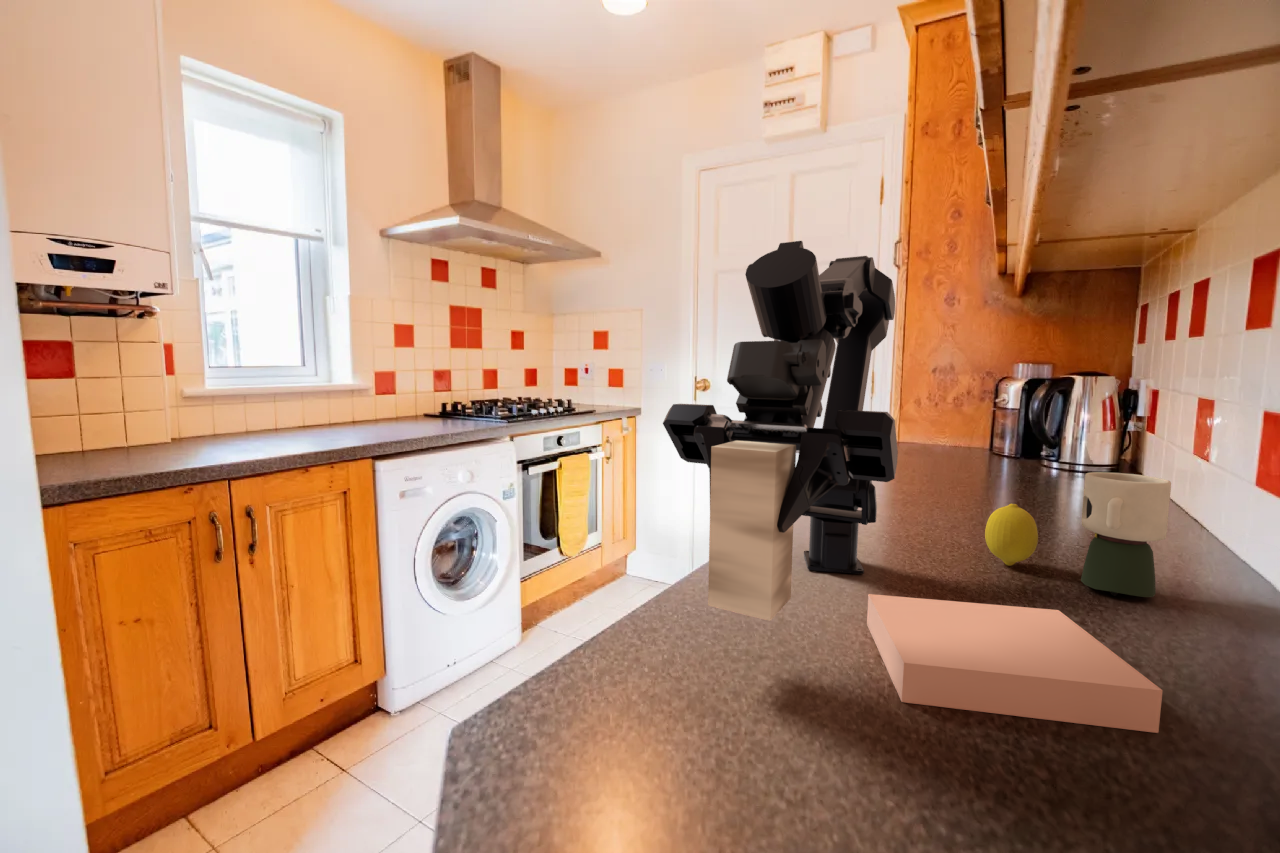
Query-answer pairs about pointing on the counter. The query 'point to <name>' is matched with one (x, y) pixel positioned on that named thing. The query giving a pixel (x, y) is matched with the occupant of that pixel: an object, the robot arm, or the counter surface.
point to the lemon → (1011, 534)
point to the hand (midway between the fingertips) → (746, 524)
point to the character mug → (1123, 530)
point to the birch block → (749, 528)
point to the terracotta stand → (1008, 663)
